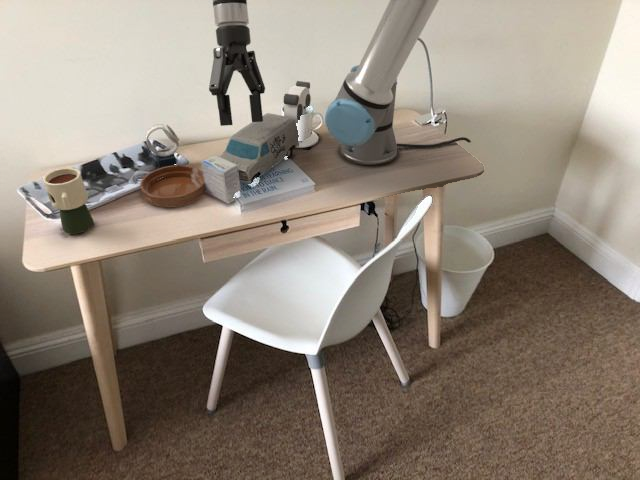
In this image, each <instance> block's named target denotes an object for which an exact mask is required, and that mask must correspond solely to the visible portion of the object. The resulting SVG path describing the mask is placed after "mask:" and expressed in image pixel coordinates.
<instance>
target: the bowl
mask: <svg viewBox="0 0 640 480" xmlns="http://www.w3.org/2000/svg"><path fill="white" fill-rule="evenodd" d="M162 177H163V178H162ZM160 178H161V179H160ZM158 179H159V180H158ZM139 188H140V192H141V196H142V199H143V200H144V201H145V202H147V203H148V204H150V205H152V206H157V207H163V208H173V207H181V206H185V205H189V204H190V203H191V204H192V203H194V202H195V201H197V200H199V199H200V198H201V197H203V196H204V195H205V193H207V192H206V187H205V181H204V174H203V170H201V169H200V168H198V167H195V166H191V165H185V164H177V165H173V166H167V167H162V168H159V167H158V168H157V169H154V170H151V171H150V172H148V173H147V174H145V175H144V176H143V177H142V179H141V180H140V183H139Z"/></svg>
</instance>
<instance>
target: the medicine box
mask: <svg viewBox="0 0 640 480" xmlns="http://www.w3.org/2000/svg"><path fill="white" fill-rule="evenodd" d="M219 156H220V155H219ZM219 156H218V155H215V154H214V155H212V156H210V157H208V158H206V159H204V160H202V161H201V169H202V172H203V174H204V181H205V187H206V192H205V193H207V195H208V194H209V195H210V196H212V197H214V198H217V199H218V200H220V201H222V202H224V203H225V204H228V205H229V204H231V203H233V202H235V201H237V199H236V197H235V198H233V197H234V194H235V193H236V192H238V191H240V190H241V183H240V181H239V173H238V166H237V165H236V164H234V163H232V162H229V161H227V160H225V159H223V158H221V157H219ZM241 191H242V190H241Z"/></svg>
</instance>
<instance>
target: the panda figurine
mask: <svg viewBox="0 0 640 480" xmlns="http://www.w3.org/2000/svg"><path fill="white" fill-rule="evenodd" d="M310 88H311V83H310V82H308V81H300V80H297V81H296V83H295V85H292V86H291V87H290V88H289V90H288V91H287V93H284V95H283V105H284V106H283V116H285V117H288V118H291V119H294V121H295V123H298V120H300V116H301V115H302V114H304V113H305V112H306V108H307V107H308V106H310V107H311V101H312V98H311V97H312V96H311V94H310ZM318 142H319V136H318V134H317V133H316V132H314V131H312V134H311V136H310V137H309V138H307V139H305V140H302V141H298V143H299V146H298V145H297V147H296V148H295V149H305V148H309V147H312V146H314V145H316V144H317V143H318Z"/></svg>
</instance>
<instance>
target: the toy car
mask: <svg viewBox="0 0 640 480" xmlns="http://www.w3.org/2000/svg"><path fill="white" fill-rule="evenodd" d="M262 116H263V121H262V122H252V121H251V122H250V123H249V124H247V125H246V126H244V127H242V128H241V129H240V130H238V131H236V132H235V133H234V134H232V135H231V136H230V138H229V140H228V142H227V145H226V147H225V150H224V151H223V152H222V153H221V154H220V155H219V157H221V158H223V159H225V160H227V161H229V162H232V163H234V164H236V165H237V166H238V173H239V181H240V184H243V183H244V184H243V185H248V184H251V183H252V182H253V180H254V179H255V178H257V177H259V176H260V175H262V174H263V173H264V174H266V173H267V172H268V171H269V170H271V169H272V168H273V167H275V166H276V165H277V164H279V163H280V162H281V161H282V160H283V158H284V157H285V156H288V157H287V158H288V159H289V160H290V159H291V158H292V157H293V153H294V150H296V149H297V148H296V147H297V145H298V146H299V143H298V137H299V135H298V130H297V126H296V123H295V121H294V119H291V118H288V117H285V116H284V115H281V114H275V113H271V112H267V113H265V114H264V115H263V114H262ZM281 159H282V160H281ZM280 160H281V161H280ZM279 161H280V162H279ZM278 162H279V163H278ZM276 163H277V164H276ZM275 164H276V165H275ZM274 165H275V166H274ZM272 166H273V167H272ZM271 167H272V168H271ZM270 168H271V169H270ZM267 170H268V171H267ZM266 171H267V172H266ZM265 172H266V173H265ZM264 174H263V175H264ZM263 175H262V176H263ZM260 177H261V176H260Z"/></svg>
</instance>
